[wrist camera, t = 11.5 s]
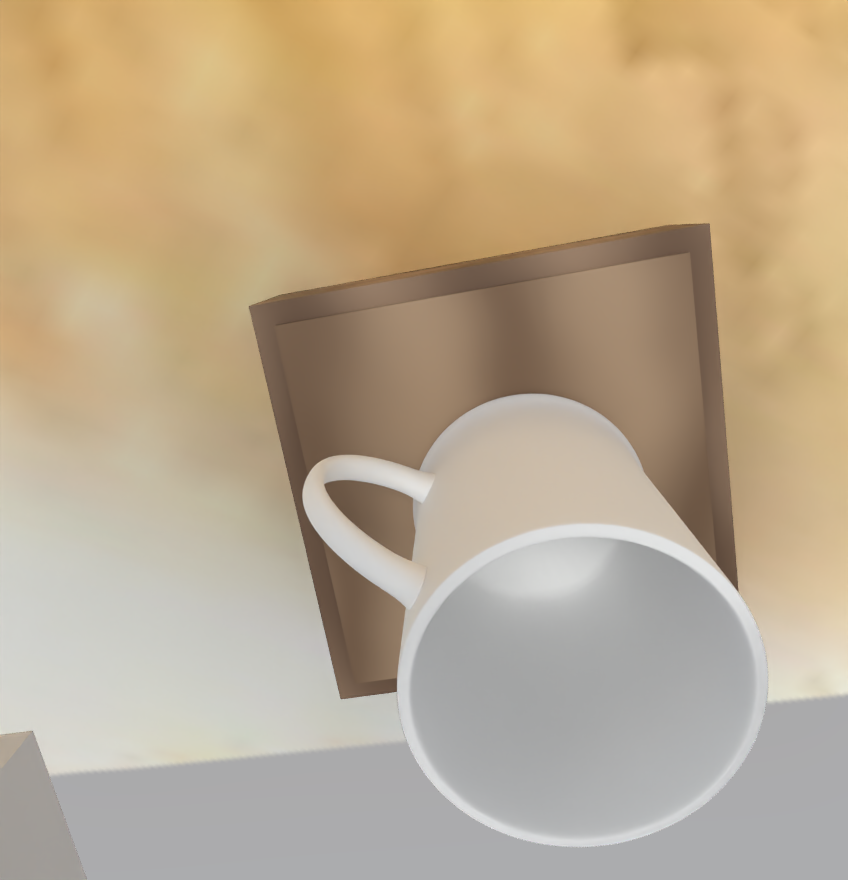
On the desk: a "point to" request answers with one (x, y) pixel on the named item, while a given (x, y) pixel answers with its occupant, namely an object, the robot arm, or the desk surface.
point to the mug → (556, 627)
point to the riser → (494, 391)
